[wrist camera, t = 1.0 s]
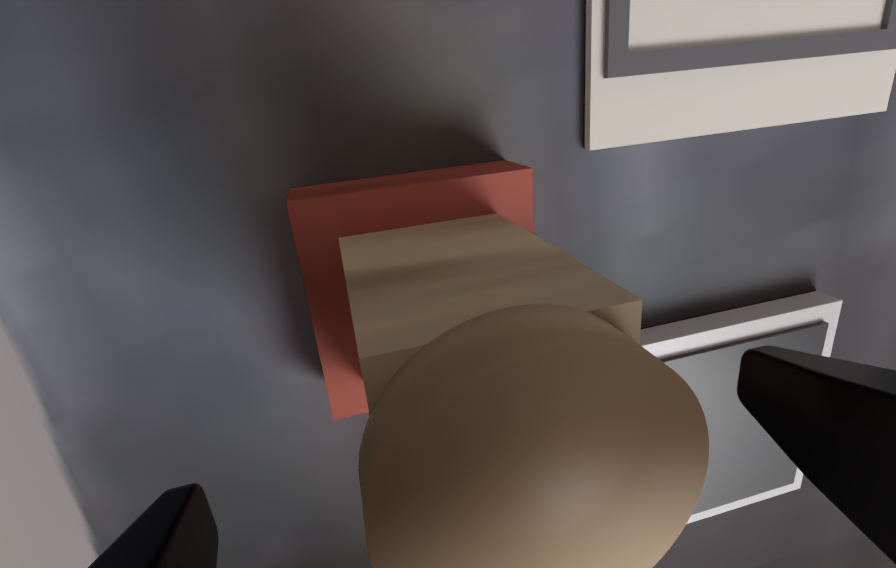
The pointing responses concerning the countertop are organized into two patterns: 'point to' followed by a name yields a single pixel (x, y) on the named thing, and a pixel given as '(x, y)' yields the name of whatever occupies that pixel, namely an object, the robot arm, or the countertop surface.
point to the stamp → (491, 379)
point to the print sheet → (731, 65)
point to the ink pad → (715, 385)
